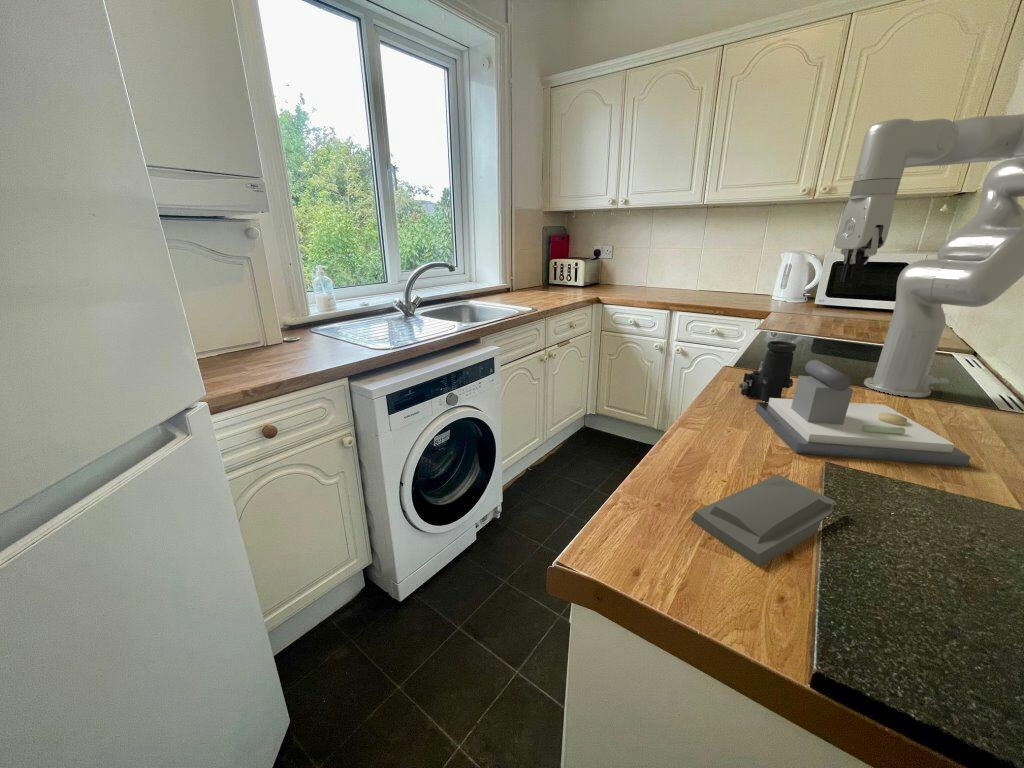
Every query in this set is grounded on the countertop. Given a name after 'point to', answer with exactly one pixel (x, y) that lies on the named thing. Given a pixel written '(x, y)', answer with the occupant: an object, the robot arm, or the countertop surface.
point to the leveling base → (855, 451)
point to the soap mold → (765, 518)
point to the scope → (771, 373)
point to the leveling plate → (849, 415)
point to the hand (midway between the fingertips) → (849, 282)
